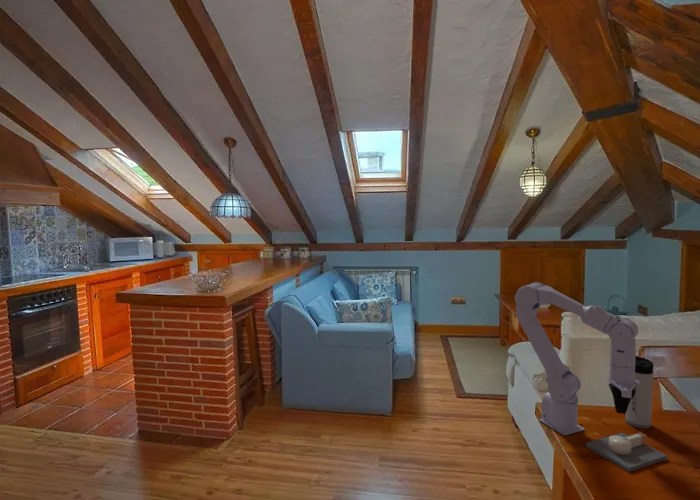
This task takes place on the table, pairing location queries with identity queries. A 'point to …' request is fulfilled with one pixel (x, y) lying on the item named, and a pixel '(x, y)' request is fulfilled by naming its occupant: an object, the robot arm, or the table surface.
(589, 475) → the table surface
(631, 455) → the flat gray base
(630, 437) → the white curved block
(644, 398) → the travel mug
